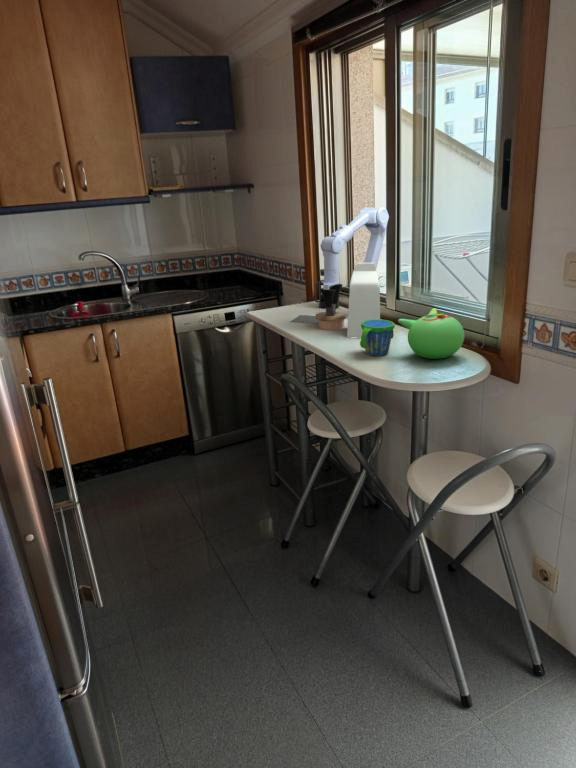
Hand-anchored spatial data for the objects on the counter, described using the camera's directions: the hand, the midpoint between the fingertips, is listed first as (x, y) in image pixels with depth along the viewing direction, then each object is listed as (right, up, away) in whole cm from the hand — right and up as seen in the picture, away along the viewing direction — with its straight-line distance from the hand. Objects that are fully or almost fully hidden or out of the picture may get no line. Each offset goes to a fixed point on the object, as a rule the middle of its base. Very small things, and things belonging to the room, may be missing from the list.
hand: (331, 305), depth 208 cm
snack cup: (+13, -20, -30) cm, 38 cm away
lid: (0, -5, +2) cm, 5 cm away
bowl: (0, -8, +3) cm, 9 cm away
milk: (+11, -12, -6) cm, 18 cm away
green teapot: (+30, -22, -35) cm, 51 cm away
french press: (+1, +4, +38) cm, 38 cm away
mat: (-8, -4, +15) cm, 17 cm away
